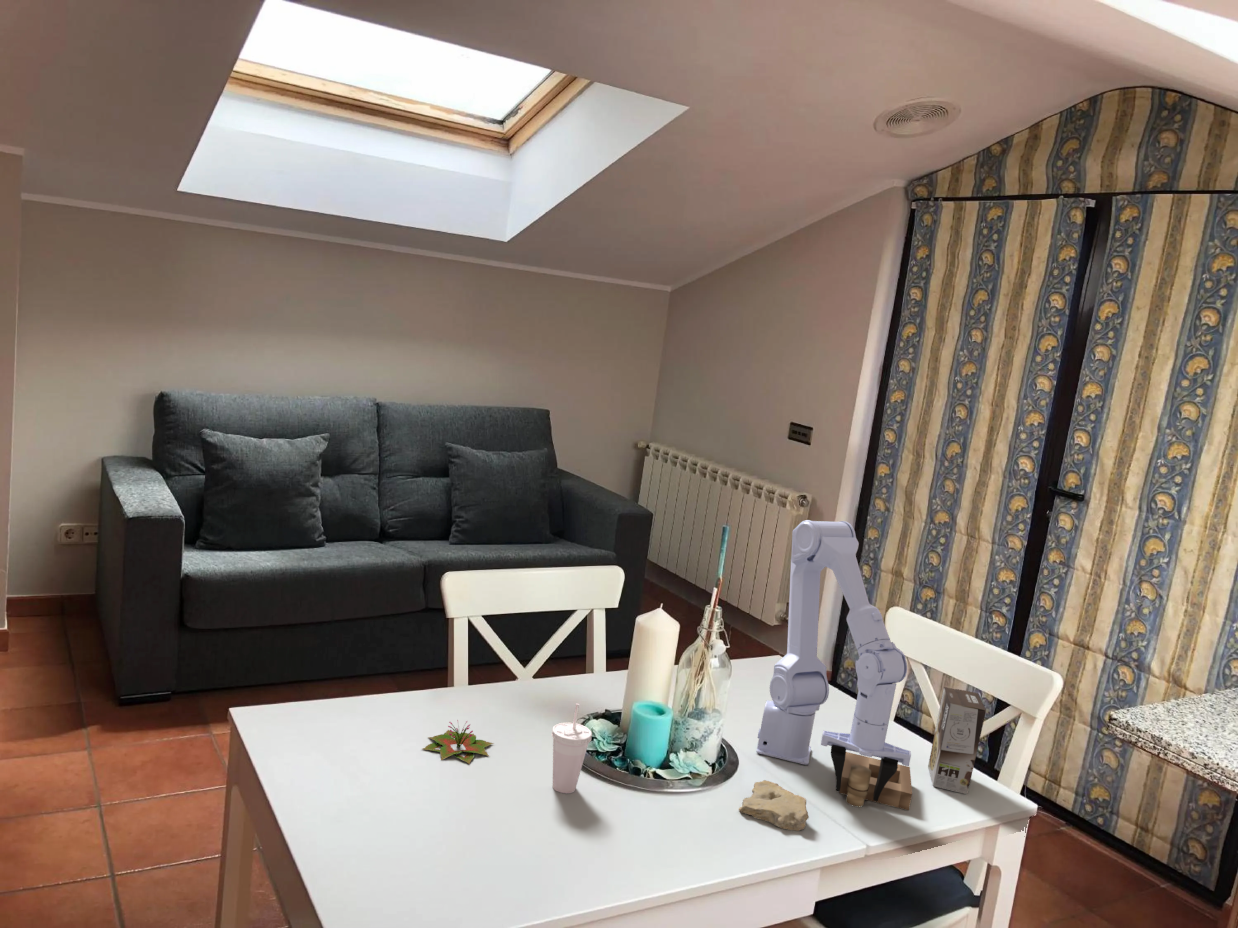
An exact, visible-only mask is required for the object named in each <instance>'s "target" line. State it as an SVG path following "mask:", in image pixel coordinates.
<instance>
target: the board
mask: <svg viewBox="0 0 1238 928" xmlns="http://www.w3.org/2000/svg"><path fill="white" fill-rule="evenodd" d="M880 763H881V759H878V758H875V757H868V756H864V755H861V754H858V753H857V754H856V753H854V752H853V753H852V752H848V751H846V755H845V762H844V767H843V772H842V778H841V788H840V792H838V793H839V794H841V795H845V796H847V793H848V791H847V783H848V780H849V775H850V770H851V766H852V765H862V766H865V767H867V768H869V769H870V770H871V777H870V782H869V790H868V792H867V795H866V796H865V799H864V801H865V800H866V801H869V802H874V803H877V804H881V805H885V806H889V807H893V806H894V807H893V808H897V809H901V810H905V811H910V807H911V802H912V797H913V787H912V776H911V767H910V766H906V765H903V764H899V763H898V768H897V771H896V773H895V774H894V775H893V776H892V777H891V778H890V779H889V781H888V782H887V783H886V785H885V786H884V788H883V790H882V792H881V794H880V796H879V798H878V801H874V800H873V794H874V789H875V785H876V782H877V778H878V774H879V768H880Z"/></svg>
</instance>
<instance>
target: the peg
mask: <svg viewBox="0 0 1238 928" xmlns="http://www.w3.org/2000/svg"><path fill="white" fill-rule="evenodd" d="M870 777H871V770H870V769H869V768H867V767H865V766H862V765H852V766H851V770H850V775H849V780H848V783H847V791H848V793H847V795H846V800H845V801H846V803H847V804H848V805H850V806H852V805H853V806H852V807H855V806H858V808H861V806H862V807H863V806H864V805H865V796H866V795H867V792H868V790H869V782H870ZM859 806H860V807H859Z"/></svg>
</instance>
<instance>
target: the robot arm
mask: <svg viewBox="0 0 1238 928" xmlns="http://www.w3.org/2000/svg"><path fill="white" fill-rule="evenodd" d="M791 533H792V535H791V536H792V537H791V557H790V573H789V601H788V620H787V626H788V627H787V646H786V647H787V648H786V649H787V650H786V654H785V655H784V656H782V658H780V660H778V661H776V663H775V664H774V666H773V674H772V678H771V680H770V683H769V695H770V698H771V700H769V699H767V700H765V701H766V702H765V705H764V709H763V714H762V718H761V719H762V720H761V724H760V728H759V729H758V732H757V733H758V734H757V739H758V742H757V747H756V753H757V754H761V755H764V756H767V757H773V758H776V759H780V760H784V761H788V762H793V763H797V764H800V765H804V766H808V765H809V763H810V756H811V750H812V746H811V745H810V744H811V740H812V739H811V738H812V733H813V727H814V721H815V717H816V712H818V711H820V707H821V705H823V704H825V702H826V701H827V700H828V699H829V694H830V686H829V680H828V677H827V665H826V664H824V663H823V661H822V660H821V659H819V658H818V640H819V639H818V636H819V617H820V616H819V614H820V589H821V572H822V571H823V570H824V569H825V568H827V569H830V570H832V572H833V575H834V577H835V579H836V581H837V584H838V585H839V588H840V590H841V592H842V595H843V596H844V599H845V601H846V603H847V606H848V608H849V611H848V613H847V615H846V618H845V619H846V622H847V623H846V624H847V627H848V628H849V632H850V634H851V636H852V640H853V643H854V645H855V649H856V651H857V654H858V656H859V657H858V659H856V660H855V671H856V675H857V683H856V686H857V690H858V692H857V696H856V701H855V702H856V703H855V708H854V711H853V718H852V722H851V728H850V733H846V732H845V733H844V732H835V731H828V730H824V729H823V731H822V734H821V740H820V746H821V747H822V746H823V747H828V746H830V757H831V760H832V763H833V768H834V775H835V789H834V791H835V792H838V793H839V792H840V788H841V778H842V772H843V767H844V762H845V755H846V752H847V751H850V752H853V753H857V754H858V753H859V755H862V756H866V757H870V758H873V757H874V758H875V757H876V758H880V760H881V763H880V768H879V774H878V778H877V782H876V785H875V789H874V794H873V800H874V801H878V798H879V796H880V794H881V792H882V790H883V788H884V786H885V785H886V783H887V782H888V781H889V779H890V778H891V777H892V776H893V775H894V774H895V773H896V771H897V768H898V764H899V763H901V765H903V766H907V767H910V763H911V757H912V752H911V750H908V749H904V748H902V747H898V746H895V745H893V744H890V743H888V742H886V739H887V733H888V728H889V723H890V718H891V713H892V708H893V702H894V698H895V693H896V689H897V683H900V682H903V680H904V679H906V676H907V673H908V662H907V660H906V659H907V658H906V655H905V653H904V651H902V650H901V649H900V648H899V647H897V646H896V643H895V642H893V641H891V638H890V636H889V632H888V630H887V628H886V625H885V622H884V618H883V615H882V612H881V611H880V609H879V608H878V607H876V606H874V605H872V604H871V603H870V601H869V598H868V594H867V591H866V587H865V583H864V581H863V577H862V573H861V569H860V566H859V563H858V559H857V557H856V556H857V552H858V550H859V544H860V543H859V541H858V539H857V536H856V531H855V529H854V527H853V525H852V524H851V523H850V522H848V521H846V520H840V521H825V520H824V521H823V520H821V521H820V520H818V521H817V520H810V519H806V520H802V521H801V522H800V523H799V524H797V526H796V527H795V528H794V529H793V530H792V532H791Z"/></svg>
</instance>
